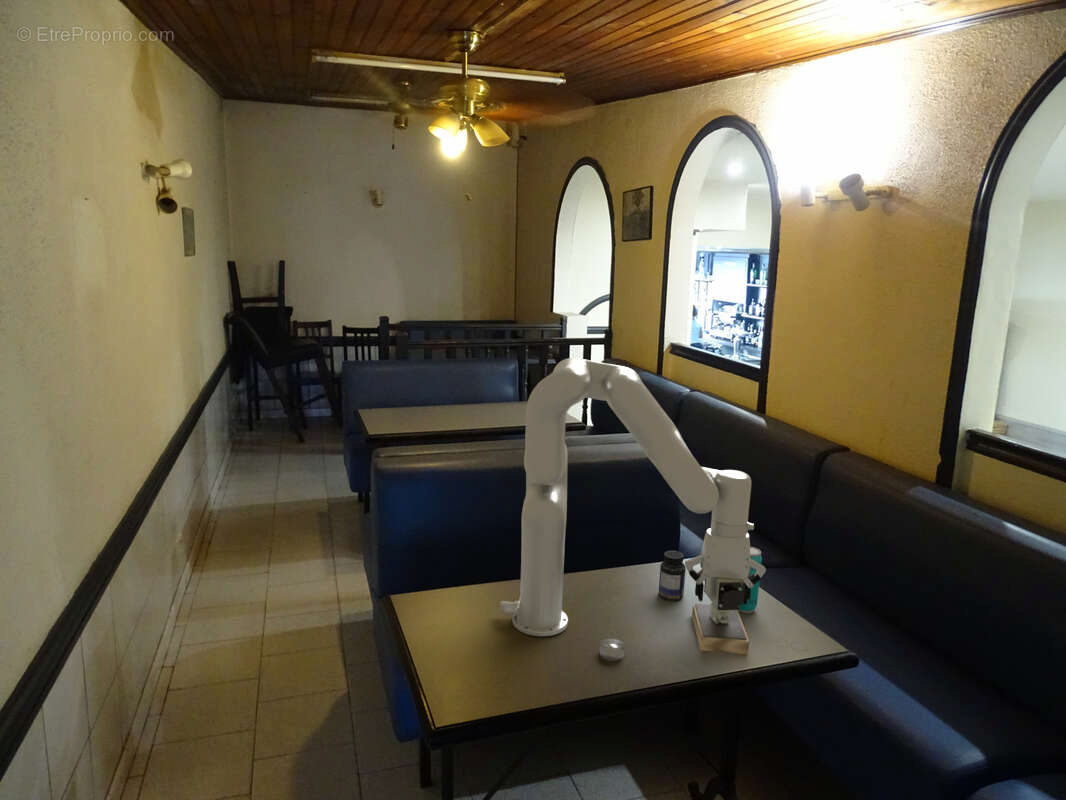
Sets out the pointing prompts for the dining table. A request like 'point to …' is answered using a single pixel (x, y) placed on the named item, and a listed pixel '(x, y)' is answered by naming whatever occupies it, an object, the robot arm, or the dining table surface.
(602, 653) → the steel spacer
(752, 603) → the beverage can
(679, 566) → the pill bottle
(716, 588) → the pneumatic valve
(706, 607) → the framed panel
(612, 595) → the dining table surface
